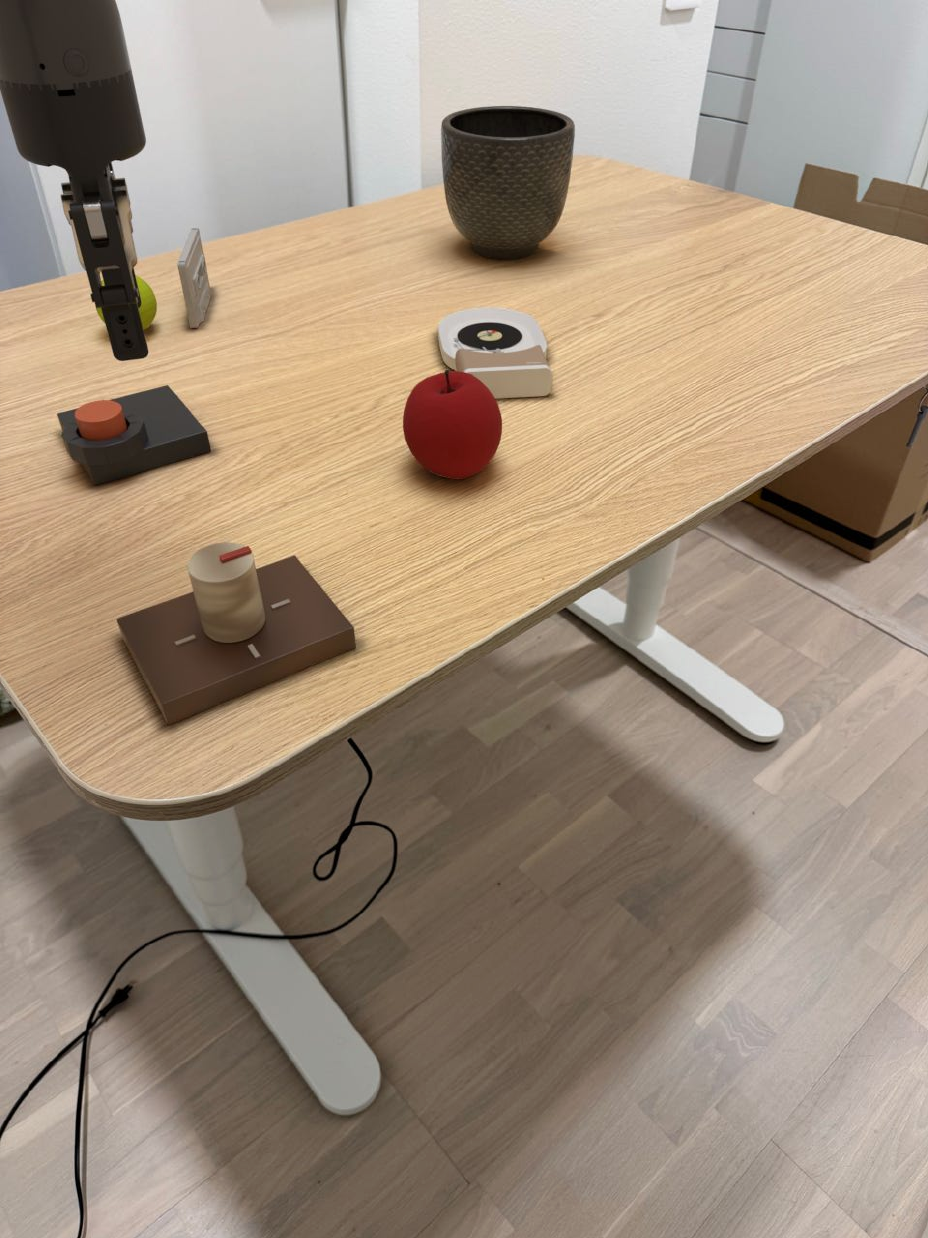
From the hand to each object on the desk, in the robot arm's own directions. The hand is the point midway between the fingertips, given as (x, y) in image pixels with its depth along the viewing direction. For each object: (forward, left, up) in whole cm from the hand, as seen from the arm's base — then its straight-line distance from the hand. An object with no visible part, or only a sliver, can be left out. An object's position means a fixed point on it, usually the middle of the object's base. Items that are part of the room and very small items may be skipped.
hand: (129, 331), depth 63 cm
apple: (+25, -2, -18) cm, 31 cm away
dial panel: (-1, -14, -18) cm, 23 cm away
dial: (-1, -14, -16) cm, 22 cm away
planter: (+61, +42, -18) cm, 76 cm away
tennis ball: (+9, +43, -18) cm, 47 cm away
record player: (+41, +15, -18) cm, 47 cm away
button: (-1, +15, -15) cm, 21 cm away
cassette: (+18, +45, -18) cm, 51 cm away
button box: (+2, +18, -18) cm, 25 cm away
